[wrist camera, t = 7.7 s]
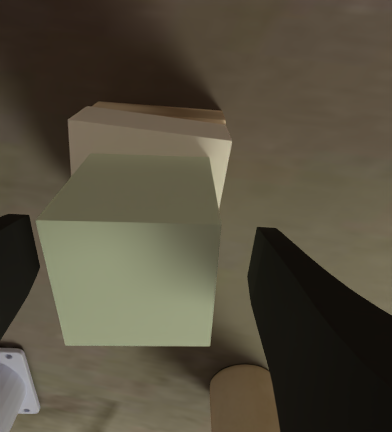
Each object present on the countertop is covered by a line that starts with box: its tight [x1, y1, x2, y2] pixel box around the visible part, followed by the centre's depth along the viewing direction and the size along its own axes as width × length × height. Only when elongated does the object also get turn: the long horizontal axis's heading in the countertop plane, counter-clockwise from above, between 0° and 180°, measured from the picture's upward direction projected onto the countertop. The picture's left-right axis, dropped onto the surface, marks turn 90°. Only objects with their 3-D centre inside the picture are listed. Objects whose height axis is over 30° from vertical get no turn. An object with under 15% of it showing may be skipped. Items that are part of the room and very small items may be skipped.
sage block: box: [36, 153, 222, 346], centre depth 11 cm, size 4×4×5 cm
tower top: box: [68, 106, 232, 208], centre depth 14 cm, size 6×6×2 cm
